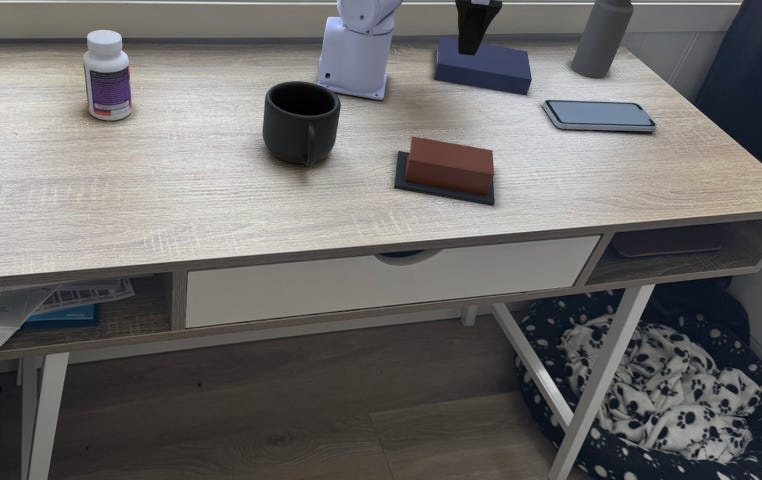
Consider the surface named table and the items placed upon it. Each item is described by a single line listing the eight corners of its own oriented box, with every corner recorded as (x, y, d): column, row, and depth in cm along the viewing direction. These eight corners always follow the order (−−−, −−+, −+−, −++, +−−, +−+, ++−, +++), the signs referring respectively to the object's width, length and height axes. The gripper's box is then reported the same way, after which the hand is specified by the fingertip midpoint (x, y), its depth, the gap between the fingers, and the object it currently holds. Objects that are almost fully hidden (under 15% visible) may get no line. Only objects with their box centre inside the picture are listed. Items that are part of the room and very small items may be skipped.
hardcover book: (433, 79, 110) (437, 63, 108) (435, 51, 117) (439, 36, 116) (526, 95, 109) (532, 79, 108) (522, 66, 117) (527, 51, 115)
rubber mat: (394, 187, 88) (394, 185, 87) (398, 153, 93) (398, 150, 93) (494, 205, 87) (494, 202, 87) (491, 169, 93) (492, 167, 93)
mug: (256, 131, 93) (260, 79, 89) (325, 131, 95) (332, 80, 90) (270, 185, 85) (275, 131, 80) (345, 184, 87) (354, 131, 82)
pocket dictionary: (404, 180, 88) (409, 159, 86) (407, 157, 92) (411, 135, 90) (487, 195, 88) (494, 174, 86) (485, 170, 92) (492, 150, 90)
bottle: (578, 58, 121) (614, -37, 111) (612, 70, 119) (652, -25, 109) (565, 69, 118) (601, -28, 107) (600, 81, 115) (640, -16, 105)
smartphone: (541, 99, 107) (638, 102, 109) (539, 105, 108) (635, 108, 110) (558, 124, 102) (659, 127, 104) (556, 130, 102) (657, 133, 104)
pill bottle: (140, 113, 94) (137, 39, 87) (105, 126, 91) (98, 50, 84) (115, 96, 96) (109, 23, 89) (79, 108, 93) (71, 33, 86)
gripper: (529, -50, 80) (499, 68, 90) (520, -85, 91) (495, 24, 100) (464, -58, 81) (442, 61, 90) (463, -91, 92) (443, 18, 101)
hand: (466, 41), depth 95 cm, fingers open, 7 cm apart
